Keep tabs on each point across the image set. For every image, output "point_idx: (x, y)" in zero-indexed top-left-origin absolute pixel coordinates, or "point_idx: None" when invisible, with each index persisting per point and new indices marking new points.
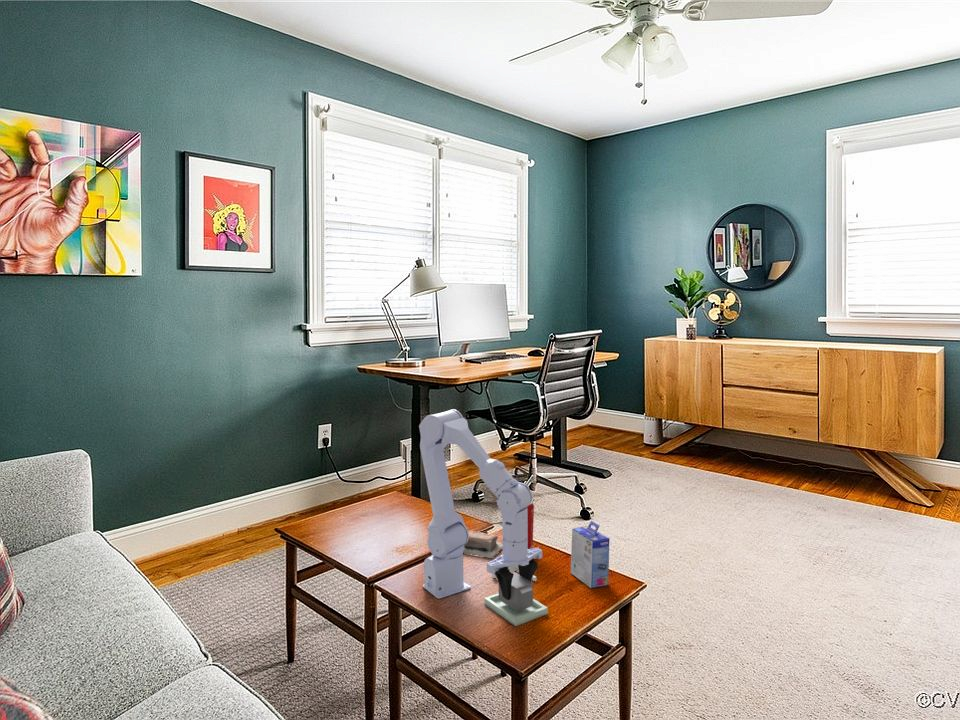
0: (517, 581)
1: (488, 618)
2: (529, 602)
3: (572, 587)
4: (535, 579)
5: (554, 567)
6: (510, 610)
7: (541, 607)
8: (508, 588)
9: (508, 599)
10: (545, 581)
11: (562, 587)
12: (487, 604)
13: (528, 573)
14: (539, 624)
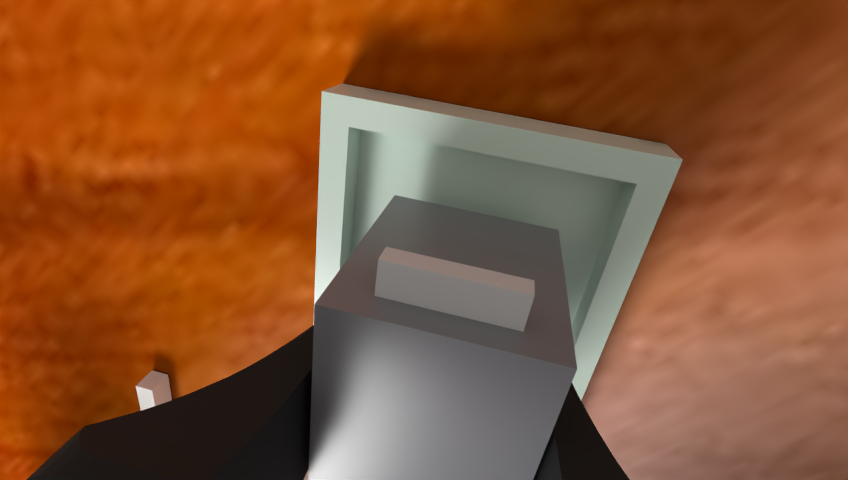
0: (429, 438)
1: (682, 345)
2: (422, 217)
3: (10, 188)
4: (152, 379)
5: (6, 374)
6: None
7: (350, 140)
8: (590, 435)
9: None
10: (115, 335)
11: (63, 231)
12: None
13: (265, 438)
14: (506, 20)
